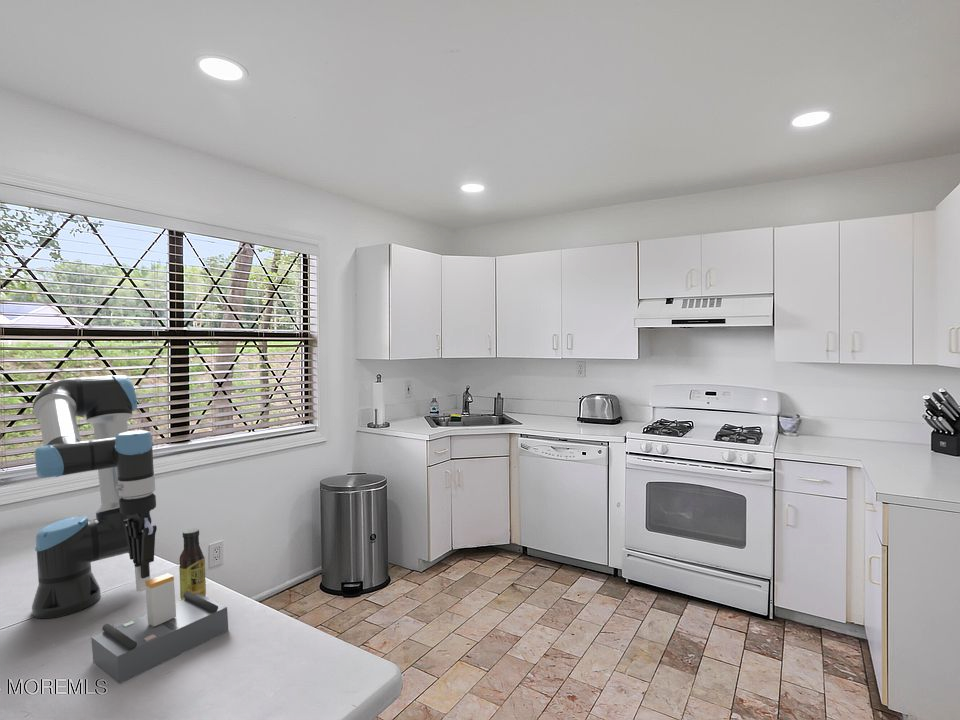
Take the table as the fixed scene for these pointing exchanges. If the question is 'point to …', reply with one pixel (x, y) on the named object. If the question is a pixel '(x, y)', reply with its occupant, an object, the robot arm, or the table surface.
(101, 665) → the switch panel
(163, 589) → the lever
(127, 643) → the pair of dark rails
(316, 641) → the table surface
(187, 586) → the sauce bottle
